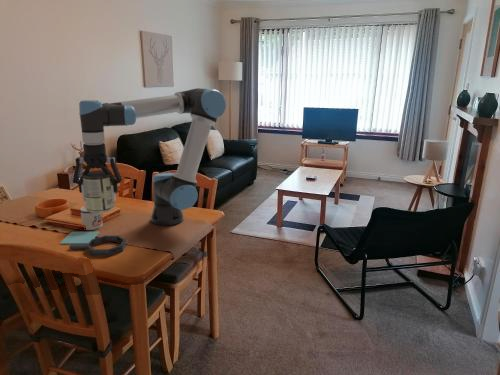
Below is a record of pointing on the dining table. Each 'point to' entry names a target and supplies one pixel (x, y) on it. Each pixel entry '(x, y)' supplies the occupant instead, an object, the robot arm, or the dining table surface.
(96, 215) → the teacup with lid
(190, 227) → the dining table surface
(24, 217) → the dining table surface
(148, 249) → the dining table surface
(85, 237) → the teal pad
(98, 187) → the coffee can
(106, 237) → the ring
